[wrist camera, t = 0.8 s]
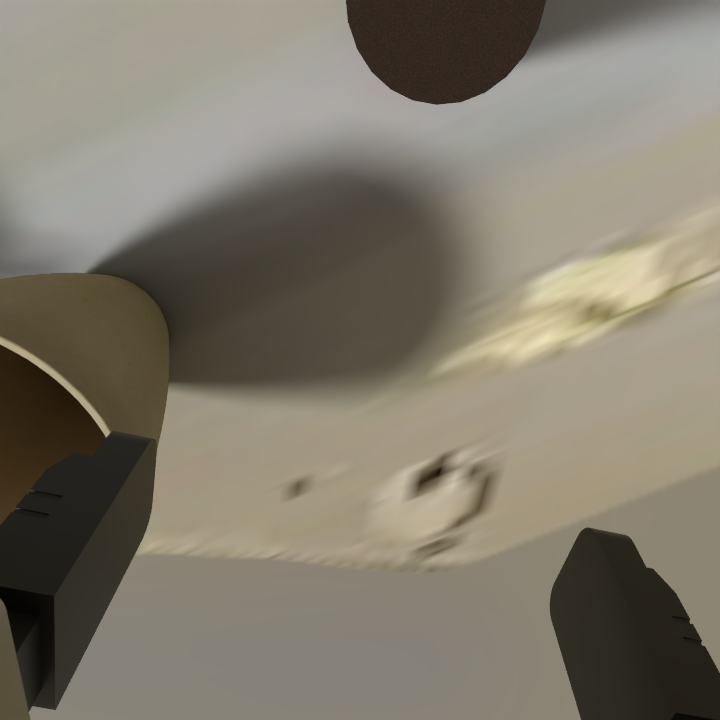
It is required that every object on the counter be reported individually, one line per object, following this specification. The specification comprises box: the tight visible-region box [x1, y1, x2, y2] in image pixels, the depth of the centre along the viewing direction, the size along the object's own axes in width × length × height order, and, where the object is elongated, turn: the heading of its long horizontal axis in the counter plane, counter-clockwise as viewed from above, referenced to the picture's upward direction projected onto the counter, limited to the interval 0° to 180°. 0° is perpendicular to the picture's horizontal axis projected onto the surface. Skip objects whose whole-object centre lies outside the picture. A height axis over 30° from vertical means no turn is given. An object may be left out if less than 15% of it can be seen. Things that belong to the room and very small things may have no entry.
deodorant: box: [346, 0, 546, 105], centre depth 25 cm, size 6×6×15 cm
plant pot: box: [0, 273, 170, 525], centre depth 32 cm, size 15×15×16 cm
